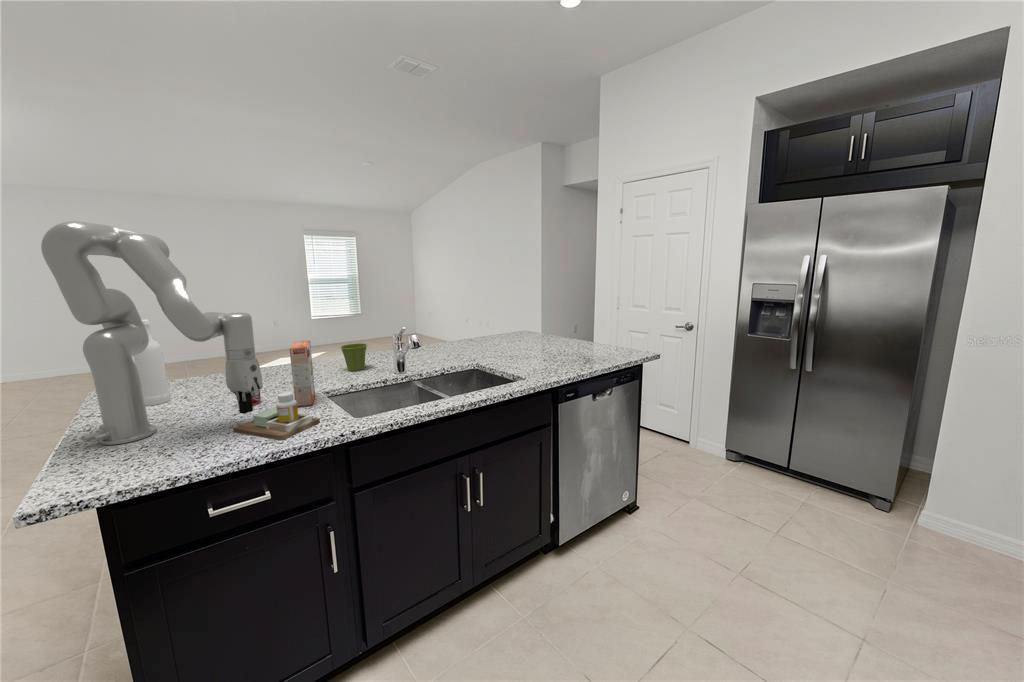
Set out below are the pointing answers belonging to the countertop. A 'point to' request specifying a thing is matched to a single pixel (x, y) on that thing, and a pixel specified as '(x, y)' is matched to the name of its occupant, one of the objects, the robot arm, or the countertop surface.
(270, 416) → the block
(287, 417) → the supplement bottle
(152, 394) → the bottle
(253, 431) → the board
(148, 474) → the countertop surface
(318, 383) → the countertop surface
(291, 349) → the cracker box
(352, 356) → the plant pot
